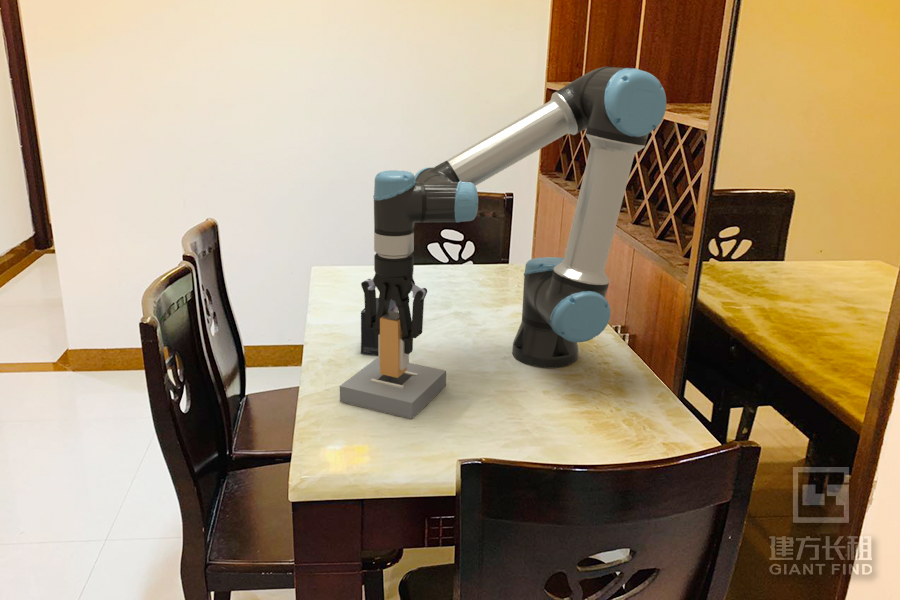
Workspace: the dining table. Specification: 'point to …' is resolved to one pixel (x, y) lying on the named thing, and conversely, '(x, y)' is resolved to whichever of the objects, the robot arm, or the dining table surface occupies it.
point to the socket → (393, 389)
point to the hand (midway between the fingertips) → (393, 364)
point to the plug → (390, 344)
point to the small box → (371, 331)
